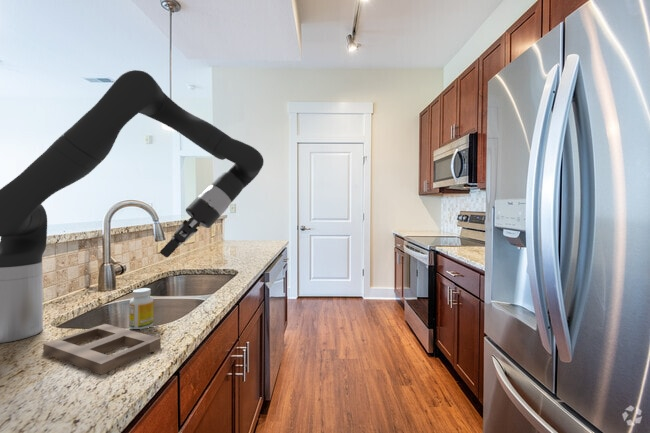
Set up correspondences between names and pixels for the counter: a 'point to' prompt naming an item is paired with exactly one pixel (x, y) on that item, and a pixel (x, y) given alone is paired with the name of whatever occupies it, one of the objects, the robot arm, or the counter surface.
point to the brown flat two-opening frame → (101, 347)
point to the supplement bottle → (141, 309)
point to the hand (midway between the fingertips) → (163, 255)
